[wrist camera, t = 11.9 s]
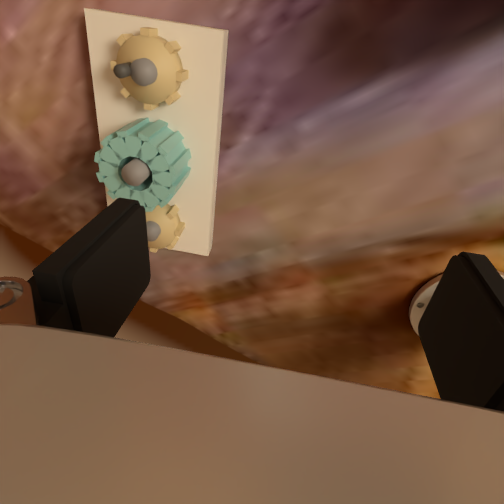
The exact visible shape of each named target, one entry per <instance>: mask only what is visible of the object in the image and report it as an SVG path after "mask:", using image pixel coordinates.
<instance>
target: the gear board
mask: <svg viewBox="0 0 504 504" xmlns="http://www.w3.org/2000/svg"><path fill="white" fill-rule="evenodd" d="M84 12H85V21H86V29H87V38H88V46H89V54H90V63H91V71H92V80H93V88H94V97H95V105H96V114H97V122H98V130H99V139H100V142H101V141H102V140H103V139H104V138H105V137H106V136H108V135H110V134H112V133H114V132H115V131H117V130H119V129H121V128H122V127H124V126H126V125H128V124H129V123H133V122H135V121H136V120H138V119H140V118H147V117H148V118H149V121H150V122H156V121H157V120H159V119H160V120H162V121H165V122H167V123H168V126H167V127H168V128H169V129H171V130H172V131H173V132H177V131H179V132H180V134H181V135H182V136H183V137H184V139H183V140H182V143H183V145H184V147H185V149H190V153H191V159H190V160H189V161H188V166H189V167H191V170H190V174H189V176H188V177H187V178H186V180H185V181H184V182H183V184H182V186H181V187H180V188H179V190H178V191H177V192H176V194H175V195H174V196H173V197H172V199H171V200H170V201H169V203H168V204H166V205H165V206H164V207H162V208H161V207H160V206H159V205H157V206H156V207H155V209H154V210H153V211H152V212H146V225H147V237H148V247H149V248H150V252H157V250H158V249H162V248H167V249H169V250H171V249H173V250H178V251H183V252H189V253H194V254H200V255H205V256H208V255H209V252H210V250H211V248H212V238H213V225H214V212H215V199H216V186H217V173H218V160H219V148H220V135H221V122H222V109H223V96H224V83H225V70H226V57H227V44H228V31H229V30H224V29H218V28H212V27H206V26H199V25H193V24H187V23H181V22H174V21H168V20H162V19H156V18H149V17H143V16H137V15H131V14H125V13H118V12H112V11H106V10H100V9H89V8H84ZM100 147H101V149H102V148H103V145H102V144H101V143H100ZM151 174H152V171H151V170H150V168H149V166H148V164H147V163H145V162H144V161H142V160H141V159H140V158H137V157H135V158H134V159H133V160H131V161H130V162H129V163H128V164H126V165H125V166H124V167H123V168H122V170H121V175H122V178H123V180H124V181H125V182H126V183H127V184H129V185H131V186H139V185H140V184H141V183H143V182H144V181H145V180H146V179H147V178H148V177H149V176H150V175H151ZM105 190H106V192H107V191H109V190H108V188H107V187H106V185H105ZM106 198H107V206H109V205H110V204H111V203H113V202H114V201H115V200H116V199H117V198H115V199H114V200H113V199H112V198H111V197H110V196H109V195H108V194H107V193H106Z"/></svg>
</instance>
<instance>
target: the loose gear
mask: <svg viewBox="0 0 504 504" xmlns="http://www.w3.org/2000/svg"><path fill="white" fill-rule="evenodd" d="M167 126H168V123H167V122H165V121H162V120H160V119H159V120H157V121H156V122H150V121H149V118H148V117H147V118H140V119H138V120H136V121H135V122H133V123H129V124H128V125H126V126H124V127H122V128H121V129H119V130H117V131H115V132H114V133H112V134H110V135H108V136H106V137H105V138H104V139H103V140H102V141H101V142H100V143H101V144H102V145H103V148H102V149H100V150H99V151H97V152H95V159H94V162H96V163H98V164H99V171H98V172H97V173H96V175H97V177H98V180H99V182H104V184H105V185H106V187H107V188H108V190H109V191H107V192H106V193H107V194H108V195H109V196H110V197H111V198H112V199H113V200H114V199H115V198H126V199H132V200H138V201H139V203H140V205H141V206H144V208H145V212H152V211H153V210H154V209H155V207H156V206H157V205H159V206H160V207H161V208H162V207H164V206H165V205H166V204H168V203H169V201H170V200H171V199H172V197H173V196H174V195H175V194H176V192H177V191H178V190H179V188H180V187H181V186H182V184H183V182H184V181H185V180H186V178H187V177H188V176H189V174H190V170H191V167H189V166H188V161H189V160H190V159H191V153H190V149H185V147H184V145H183V143H182V140H183V139H184V137H183V136H182V135H181V134H180V132H179V131H177V132H173V131H172V130H171V129H169V128H168V127H167ZM135 157H137V158H140V159H141V160H142V161H144V162H145V163H147V164H148V166H149V168H150V170H151V171H152V174H151V175H150V176H149V177H148V178H147V179H146V180H145V181H144V182H143V183H141V184H140V185H139V186H131V185H129V184H127V183H126V182H125V181H124V180H123V178H122V175H121V170H122V168H123V167H124V166H125V165H126V164H128V163H129V162H130V161H131V160H133V159H134V158H135Z"/></svg>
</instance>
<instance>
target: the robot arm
mask: <svg viewBox="0 0 504 504" xmlns="http://www.w3.org/2000/svg"><path fill="white" fill-rule="evenodd" d="M32 272H33V275H34V276H32V277H31V278H30V279H29V280H28V281H25V280H24V279H22V278H17V277H0V504H504V273H502V272H500V271H497V270H496V269H495V267H494V266H493V265H492V263H491V262H490V261H489V259H488V258H487V257H486V256H485V255H480V254H474V253H468V252H461V253H460V254H459V255H458V256H456V255H455V256H453V257H452V258H451V259H450V261H449V263H448V265H447V267H446V269H445V271H444V273H443V274H442V275H439V276H437V277H436V278H434V279H432V280H430V281H429V282H428V283H426V284H425V285H424V286H422V287H421V288H420V290H419V291H418V292H417V293H416V294H415V296H414V297H413V299H412V301H411V304H410V307H409V318H410V322H411V325H412V327H413V329H414V331H415V332H416V333H417V335H418V336H419V337H420V340H421V342H422V345H423V348H424V351H425V354H426V357H427V360H428V363H429V366H430V369H431V372H432V374H433V377H434V380H435V383H436V386H437V389H438V392H439V395H440V398H441V399H437V398H432V397H427V396H422V395H417V394H411V393H406V392H401V391H396V390H391V389H386V388H381V387H375V386H370V385H365V384H360V383H355V382H350V381H345V380H339V379H334V378H329V377H324V376H318V375H313V374H308V373H303V372H297V371H292V370H287V369H282V368H276V367H271V366H266V365H260V364H255V363H249V362H244V361H239V360H234V359H228V358H223V357H217V356H212V355H206V354H201V353H195V352H190V351H185V350H179V349H173V348H169V347H163V346H158V345H152V344H147V343H141V342H136V341H130V340H125V339H119V338H114V337H115V335H116V334H117V332H118V330H119V329H120V327H121V326H122V324H123V323H124V321H125V320H126V318H127V317H128V315H129V314H130V312H131V311H132V309H133V308H134V306H135V305H136V303H137V301H138V300H139V298H140V297H141V295H142V294H143V292H144V291H145V289H146V288H147V286H148V284H149V282H150V262H149V250H148V237H147V225H146V212H145V208H144V206H141V205H140V203H139V201H138V200H132V199H126V198H117V199H116V200H115V201H114V202H113V203H111V204H110V205H109V206H108V207H107V208H105V209H104V210H103V211H102V212H101V213H100V214H98V215H97V216H96V217H95V218H94V219H92V220H91V221H90V222H89V223H88V224H87V225H85V226H84V227H83V228H82V229H81V230H80V231H78V232H77V233H76V234H75V235H74V236H72V237H71V238H70V239H69V240H68V241H67V242H65V243H64V244H63V245H62V246H61V247H60V248H58V249H57V250H56V251H55V252H54V253H53V254H51V255H50V256H49V257H48V258H47V259H46V260H44V261H43V262H42V263H41V264H40V265H38V266H37V267H36V268H35V269H34V270H33V271H32Z"/></svg>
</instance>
